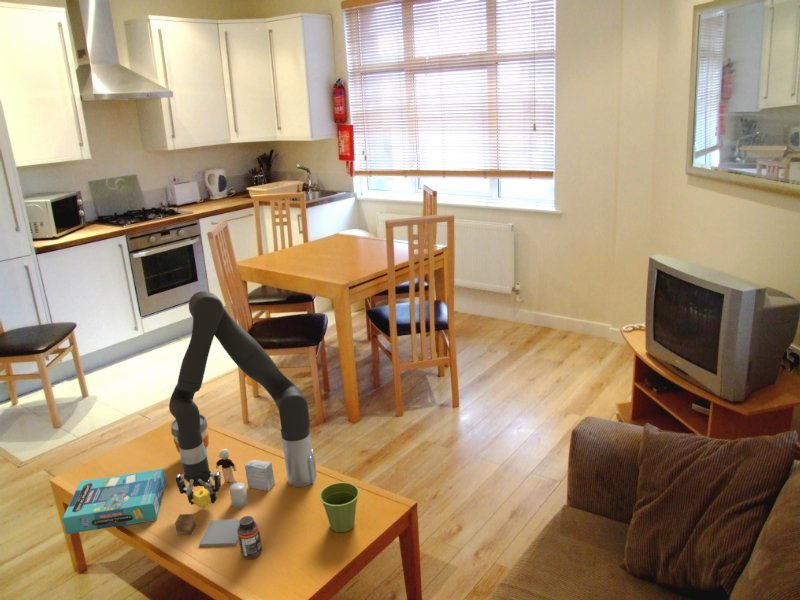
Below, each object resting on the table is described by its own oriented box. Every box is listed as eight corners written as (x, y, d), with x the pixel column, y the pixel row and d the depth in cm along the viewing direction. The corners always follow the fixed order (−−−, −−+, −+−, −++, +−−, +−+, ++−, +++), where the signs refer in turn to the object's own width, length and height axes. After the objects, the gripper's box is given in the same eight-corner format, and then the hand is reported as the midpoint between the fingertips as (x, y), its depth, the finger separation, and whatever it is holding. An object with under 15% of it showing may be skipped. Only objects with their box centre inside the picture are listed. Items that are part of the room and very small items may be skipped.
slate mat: (246, 521, 205) (245, 519, 205) (236, 545, 195) (236, 542, 194) (211, 522, 206) (210, 520, 205) (199, 546, 195) (199, 544, 195)
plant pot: (348, 542, 192) (345, 509, 189) (315, 531, 198) (311, 499, 194) (370, 518, 202) (366, 487, 198) (337, 509, 208) (334, 478, 204)
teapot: (200, 514, 207) (197, 500, 205) (189, 508, 210) (186, 494, 209) (221, 501, 213) (218, 487, 211) (210, 495, 216) (207, 481, 214)
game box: (167, 483, 228) (84, 496, 224) (163, 467, 225) (80, 480, 222) (157, 520, 208) (66, 535, 205) (153, 503, 206) (61, 518, 203)
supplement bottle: (243, 547, 194) (237, 514, 190) (263, 544, 194) (258, 512, 190) (240, 561, 188) (234, 527, 184) (261, 558, 188) (255, 525, 185)
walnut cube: (196, 526, 205) (193, 513, 203) (191, 535, 200) (188, 523, 199) (182, 526, 205) (179, 514, 204) (177, 535, 201) (174, 523, 199)
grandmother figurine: (241, 478, 227) (236, 446, 223) (238, 485, 224) (232, 452, 220) (220, 479, 228) (214, 446, 224) (216, 485, 225) (210, 452, 221)
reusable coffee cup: (186, 449, 249) (179, 413, 244) (218, 449, 247) (212, 413, 242) (171, 467, 237) (163, 430, 232) (204, 468, 235) (197, 431, 231)
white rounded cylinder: (249, 498, 216) (246, 482, 215) (245, 507, 212) (242, 491, 210) (234, 498, 217) (231, 482, 215) (230, 508, 212) (227, 492, 210)
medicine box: (275, 484, 223) (272, 461, 220) (268, 491, 219) (265, 468, 216) (254, 480, 226) (251, 458, 223) (248, 488, 222) (244, 465, 219)
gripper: (220, 448, 209) (228, 494, 214) (175, 451, 210) (185, 496, 215) (212, 462, 202) (222, 508, 207) (166, 464, 203) (177, 511, 208)
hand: (203, 502), depth 211 cm, fingers closed on teapot, 6 cm apart
